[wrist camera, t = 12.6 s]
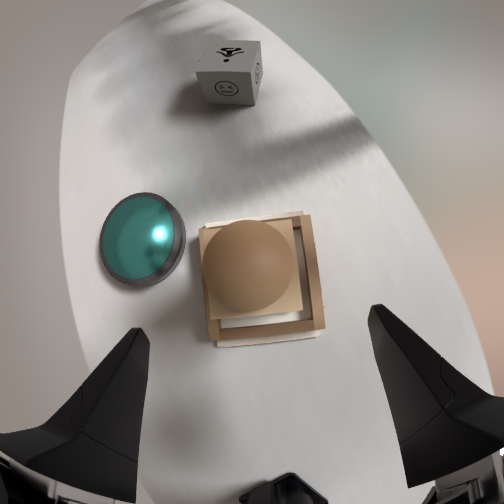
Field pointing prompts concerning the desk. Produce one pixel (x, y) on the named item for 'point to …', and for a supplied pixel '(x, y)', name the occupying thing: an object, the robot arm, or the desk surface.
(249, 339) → the frame
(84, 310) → the desk surface
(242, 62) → the dice cube
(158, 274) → the pad
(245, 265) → the stamp
